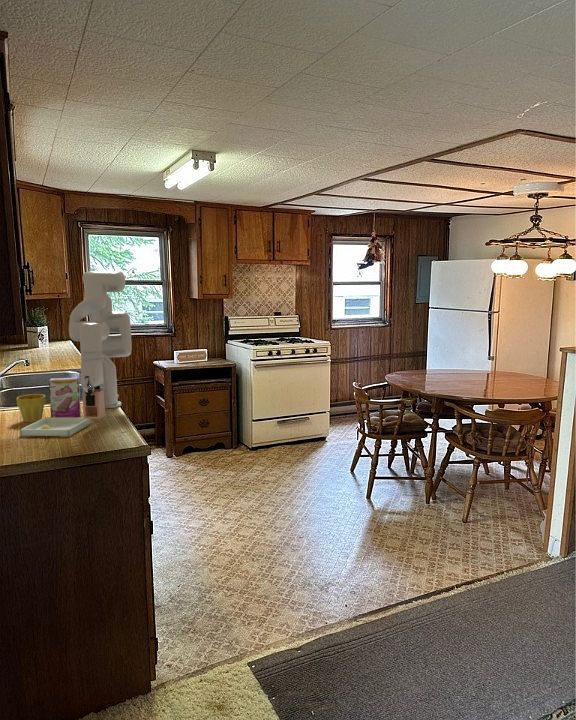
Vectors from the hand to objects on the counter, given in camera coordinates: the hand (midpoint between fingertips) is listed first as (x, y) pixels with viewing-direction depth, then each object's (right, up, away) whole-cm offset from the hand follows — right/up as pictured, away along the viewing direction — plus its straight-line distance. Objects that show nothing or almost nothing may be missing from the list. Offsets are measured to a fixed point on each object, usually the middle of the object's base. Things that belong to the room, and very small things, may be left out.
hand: (94, 403), depth 194 cm
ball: (-15, -9, -7) cm, 19 cm away
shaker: (0, -5, +1) cm, 5 cm away
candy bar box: (-18, -8, +18) cm, 27 cm away
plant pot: (-30, -8, +15) cm, 35 cm away
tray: (-14, -10, 0) cm, 17 cm away
